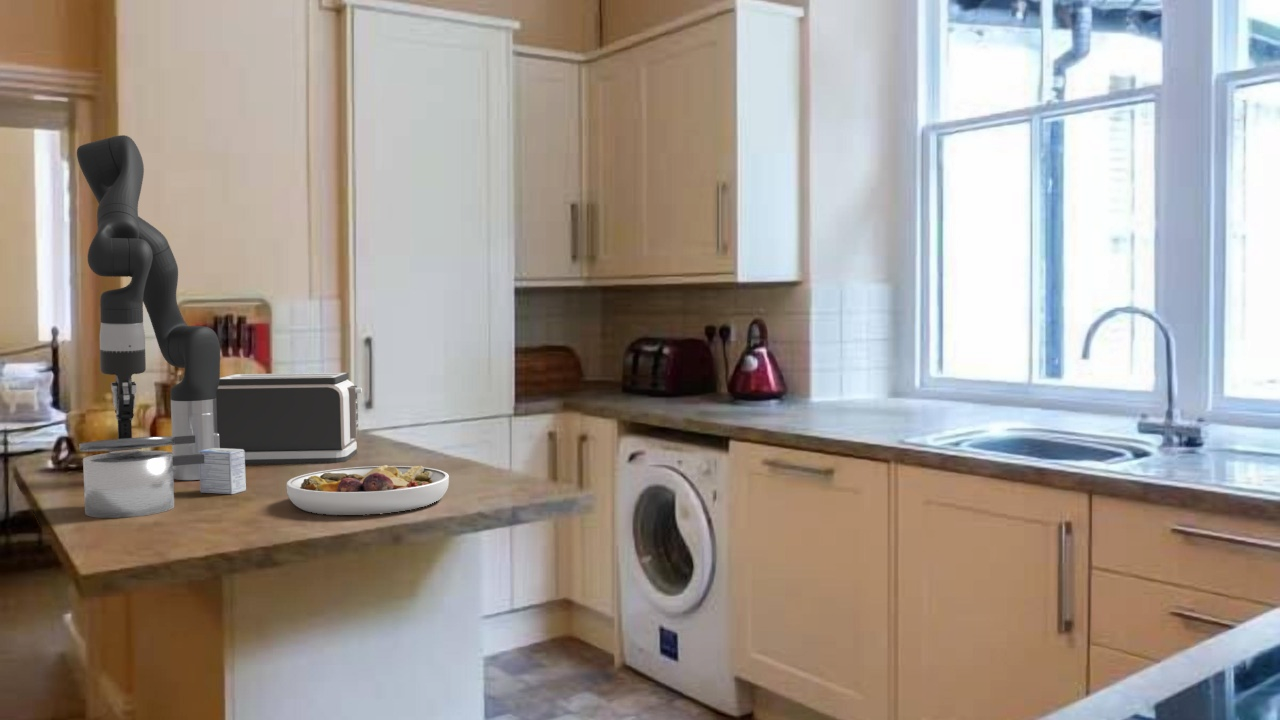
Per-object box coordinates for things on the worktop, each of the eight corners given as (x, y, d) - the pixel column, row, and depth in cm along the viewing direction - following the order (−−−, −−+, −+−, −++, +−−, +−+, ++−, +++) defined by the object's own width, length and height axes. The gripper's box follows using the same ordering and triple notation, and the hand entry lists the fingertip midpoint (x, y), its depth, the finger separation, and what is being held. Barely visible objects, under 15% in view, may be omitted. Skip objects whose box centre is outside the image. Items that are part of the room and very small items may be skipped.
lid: (188, 445, 212) (187, 429, 212) (200, 440, 197) (199, 422, 198) (77, 453, 202) (76, 436, 202) (81, 448, 187) (81, 429, 188)
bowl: (280, 497, 212) (279, 457, 212) (430, 485, 224) (429, 448, 224) (295, 526, 185) (294, 481, 184) (466, 511, 197) (465, 469, 196)
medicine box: (246, 491, 218) (245, 449, 217) (231, 495, 213) (230, 452, 213) (215, 489, 220) (213, 447, 220) (199, 493, 216) (198, 450, 215)
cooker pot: (197, 494, 214) (195, 445, 213) (211, 508, 199) (209, 455, 199) (82, 505, 203) (80, 453, 203) (87, 521, 189) (85, 465, 188)
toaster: (355, 463, 254) (353, 377, 253) (206, 466, 251) (203, 379, 250) (369, 451, 273) (368, 372, 272) (230, 454, 271) (228, 373, 269)
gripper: (148, 350, 193) (150, 445, 195) (141, 343, 204) (143, 432, 206) (102, 351, 189) (104, 448, 191) (97, 344, 200) (100, 435, 202)
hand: (124, 439), depth 198 cm, fingers closed
